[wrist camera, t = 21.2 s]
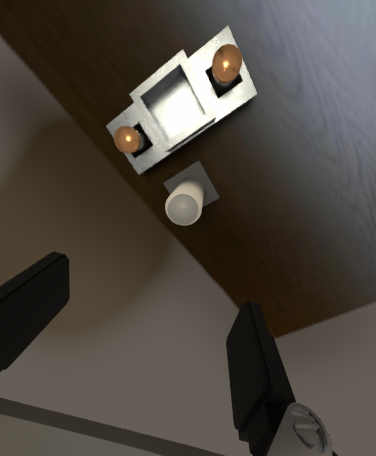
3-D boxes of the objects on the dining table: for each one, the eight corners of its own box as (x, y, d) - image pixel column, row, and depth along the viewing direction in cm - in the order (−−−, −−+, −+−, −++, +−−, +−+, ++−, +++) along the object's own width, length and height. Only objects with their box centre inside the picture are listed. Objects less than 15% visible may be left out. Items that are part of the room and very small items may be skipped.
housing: (225, 41, 29) (231, 4, 22) (251, 100, 32) (265, 85, 24) (116, 128, 35) (92, 122, 28) (145, 172, 37) (130, 178, 30)
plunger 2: (237, 87, 31) (247, 68, 23) (217, 102, 32) (220, 87, 24) (226, 64, 30) (233, 36, 22) (206, 79, 31) (206, 57, 23)
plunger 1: (156, 145, 35) (143, 144, 28) (141, 156, 36) (124, 158, 29) (145, 126, 34) (128, 120, 27) (129, 138, 35) (109, 135, 28)
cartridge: (207, 180, 36) (205, 196, 24) (201, 205, 38) (196, 231, 26) (181, 174, 36) (166, 188, 24) (176, 199, 38) (161, 223, 26)
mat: (219, 196, 38) (219, 197, 37) (185, 216, 40) (185, 217, 40) (198, 160, 36) (198, 160, 35) (163, 182, 38) (163, 183, 37)
